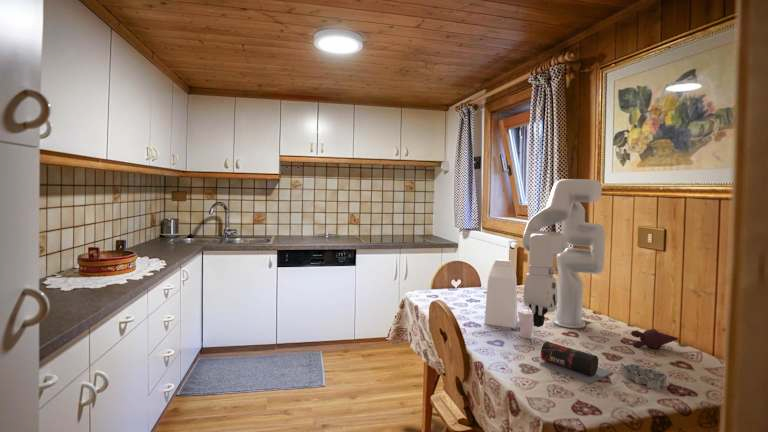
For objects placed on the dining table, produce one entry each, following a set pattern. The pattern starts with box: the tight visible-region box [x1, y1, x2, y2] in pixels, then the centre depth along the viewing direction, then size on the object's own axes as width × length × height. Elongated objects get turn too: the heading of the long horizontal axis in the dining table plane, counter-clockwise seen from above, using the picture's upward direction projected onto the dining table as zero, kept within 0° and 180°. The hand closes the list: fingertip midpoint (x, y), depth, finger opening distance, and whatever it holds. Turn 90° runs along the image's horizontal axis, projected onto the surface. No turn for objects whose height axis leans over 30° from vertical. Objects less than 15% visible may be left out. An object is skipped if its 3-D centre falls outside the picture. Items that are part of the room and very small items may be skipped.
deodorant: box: [540, 341, 599, 376], centre depth 126 cm, size 6×6×15 cm
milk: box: [483, 259, 518, 329], centre depth 171 cm, size 12×12×26 cm
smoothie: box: [517, 306, 534, 339], centre depth 154 cm, size 6×6×14 cm
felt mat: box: [539, 360, 614, 385], centre depth 126 cm, size 13×16×1 cm
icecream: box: [630, 328, 679, 350], centre depth 145 cm, size 7×7×15 cm
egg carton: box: [620, 362, 669, 390], centre depth 119 cm, size 11×8×4 cm
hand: (538, 325), depth 136 cm, fingers closed
